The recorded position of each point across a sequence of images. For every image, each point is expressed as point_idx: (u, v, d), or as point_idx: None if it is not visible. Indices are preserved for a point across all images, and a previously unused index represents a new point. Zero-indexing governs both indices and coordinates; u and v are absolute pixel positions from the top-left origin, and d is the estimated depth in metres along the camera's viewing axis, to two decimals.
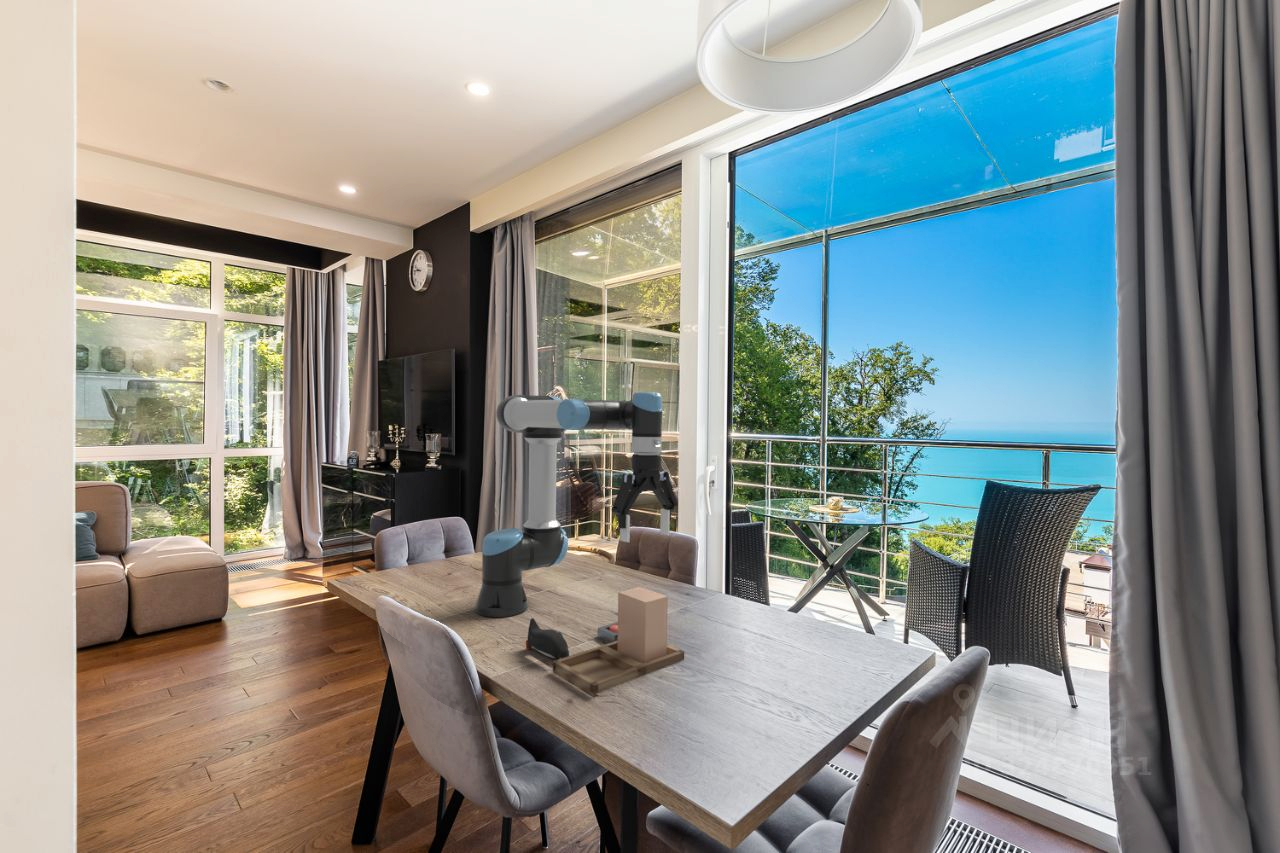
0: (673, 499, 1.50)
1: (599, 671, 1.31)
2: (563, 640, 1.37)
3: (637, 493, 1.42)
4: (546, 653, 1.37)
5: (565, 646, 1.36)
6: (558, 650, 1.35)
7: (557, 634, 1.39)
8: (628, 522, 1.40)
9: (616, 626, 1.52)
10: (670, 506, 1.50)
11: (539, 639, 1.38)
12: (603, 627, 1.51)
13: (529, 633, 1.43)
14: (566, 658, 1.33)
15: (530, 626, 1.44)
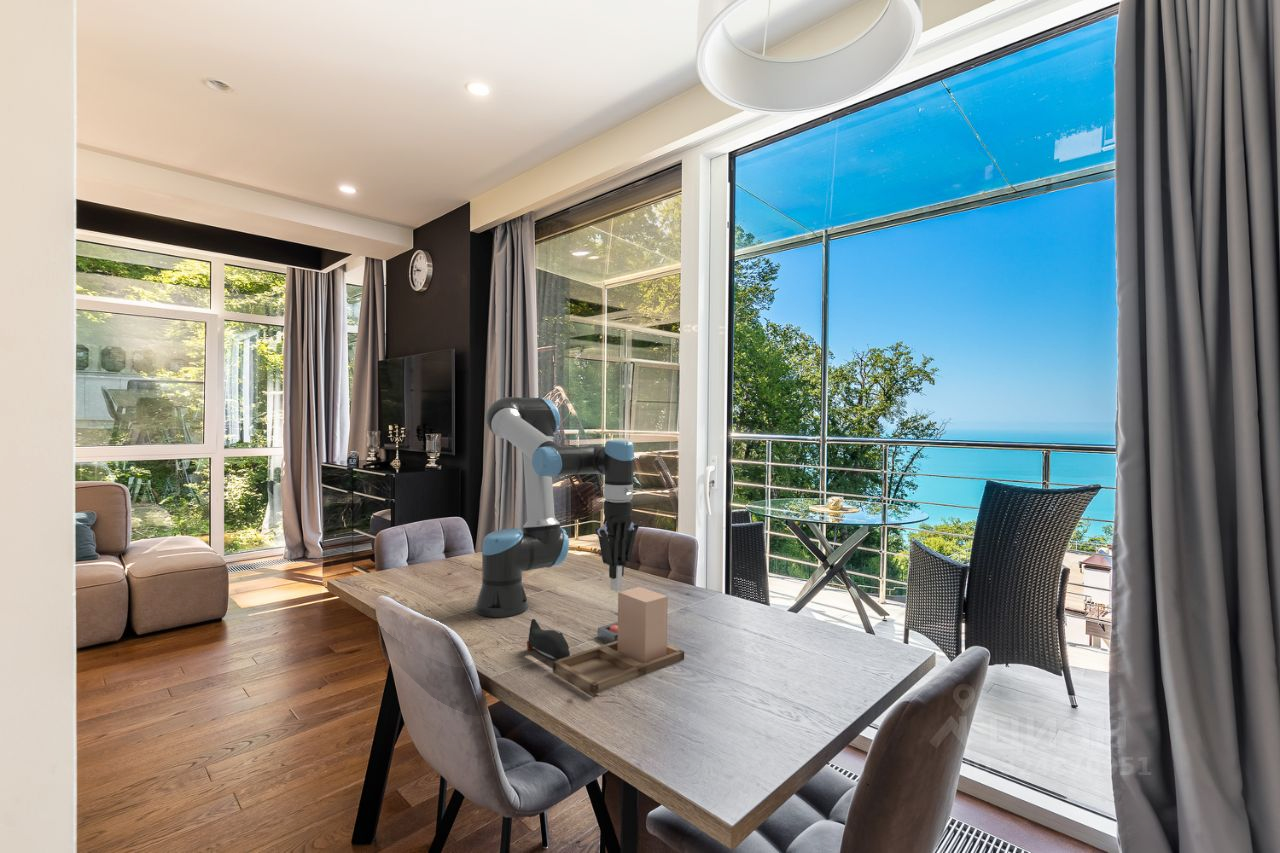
0: (629, 553, 1.52)
1: (599, 671, 1.31)
2: (564, 641, 1.37)
3: (616, 541, 1.49)
4: (547, 654, 1.36)
5: (566, 647, 1.36)
6: (559, 651, 1.34)
7: (558, 635, 1.38)
8: (618, 572, 1.50)
9: (616, 626, 1.52)
10: (623, 561, 1.51)
11: (540, 640, 1.37)
12: (603, 627, 1.51)
13: (530, 634, 1.43)
14: (566, 658, 1.33)
15: (531, 627, 1.44)
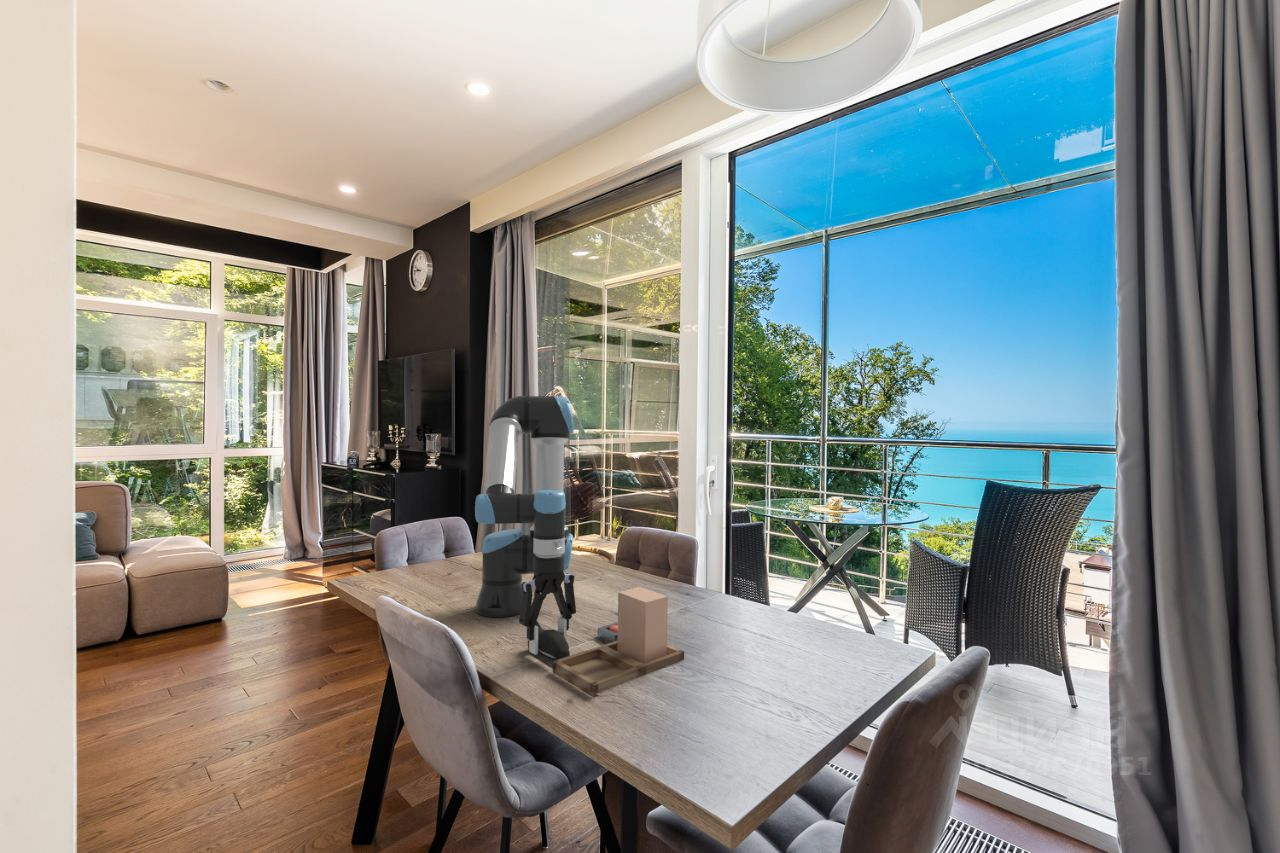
0: (572, 606, 1.43)
1: (599, 671, 1.31)
2: (564, 640, 1.37)
3: (541, 600, 1.37)
4: (547, 653, 1.36)
5: (566, 646, 1.36)
6: (559, 651, 1.34)
7: (558, 634, 1.38)
8: (536, 634, 1.37)
9: (616, 626, 1.52)
10: (567, 615, 1.42)
11: (540, 639, 1.37)
12: (603, 627, 1.51)
13: None
14: (566, 658, 1.33)
15: None
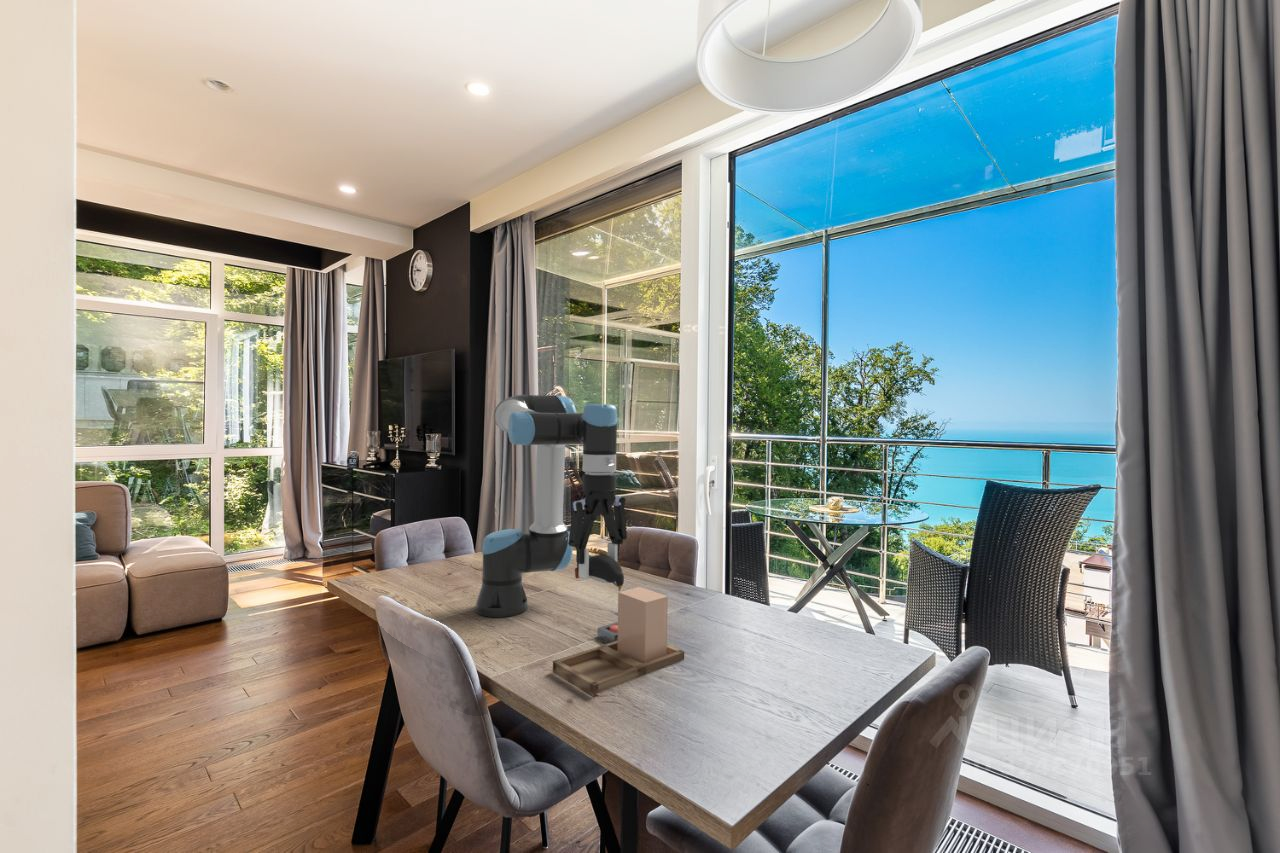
0: (623, 530, 1.33)
1: (599, 671, 1.31)
2: (617, 564, 1.26)
3: (592, 520, 1.27)
4: (599, 578, 1.26)
5: (620, 570, 1.25)
6: (612, 574, 1.24)
7: (610, 558, 1.27)
8: (587, 557, 1.26)
9: (616, 626, 1.52)
10: (618, 539, 1.32)
11: (591, 563, 1.27)
12: (603, 627, 1.51)
13: None
14: (566, 658, 1.33)
15: None
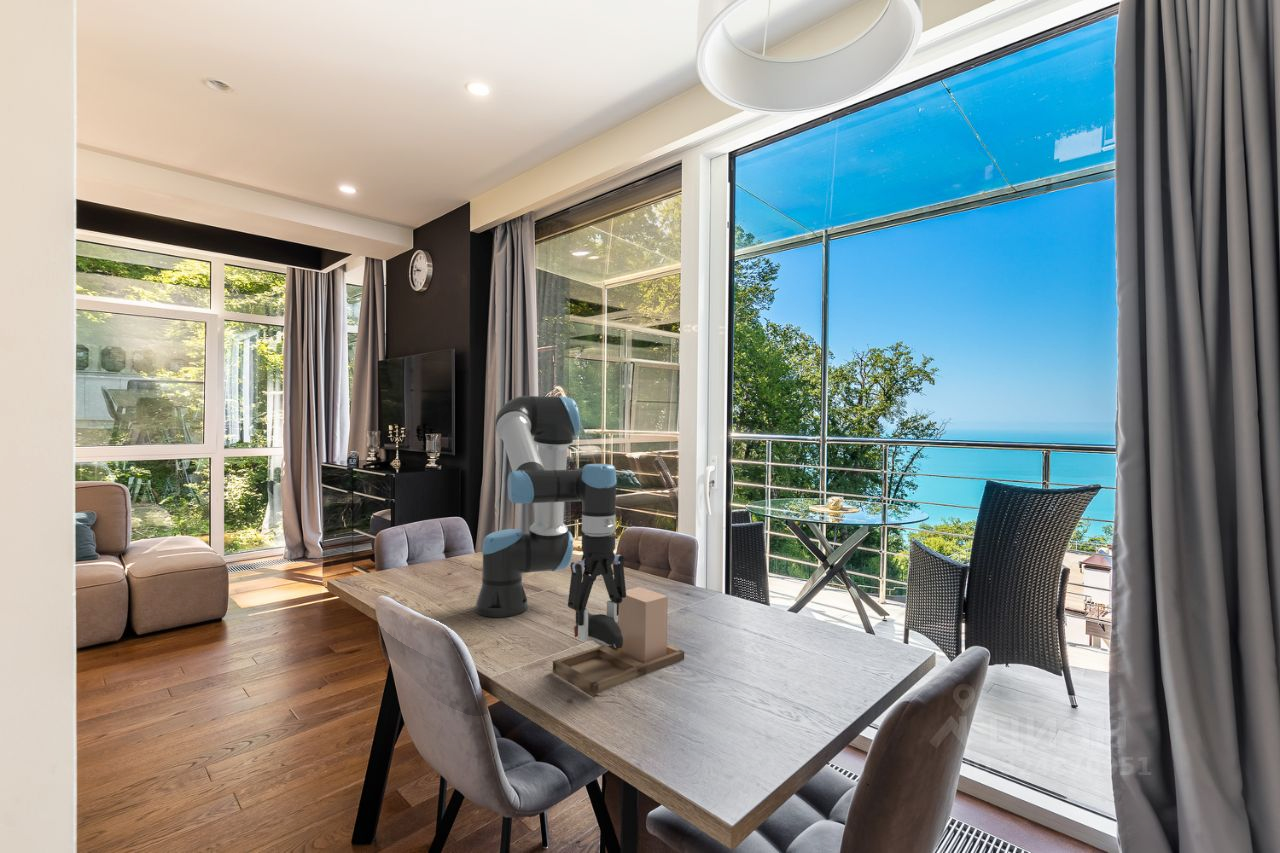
0: (622, 589, 1.33)
1: (599, 671, 1.31)
2: (616, 625, 1.26)
3: (591, 582, 1.27)
4: (598, 639, 1.26)
5: (619, 632, 1.25)
6: (612, 636, 1.24)
7: (609, 619, 1.28)
8: (586, 618, 1.26)
9: None
10: (617, 598, 1.32)
11: (590, 624, 1.27)
12: None
13: None
14: (566, 658, 1.33)
15: None
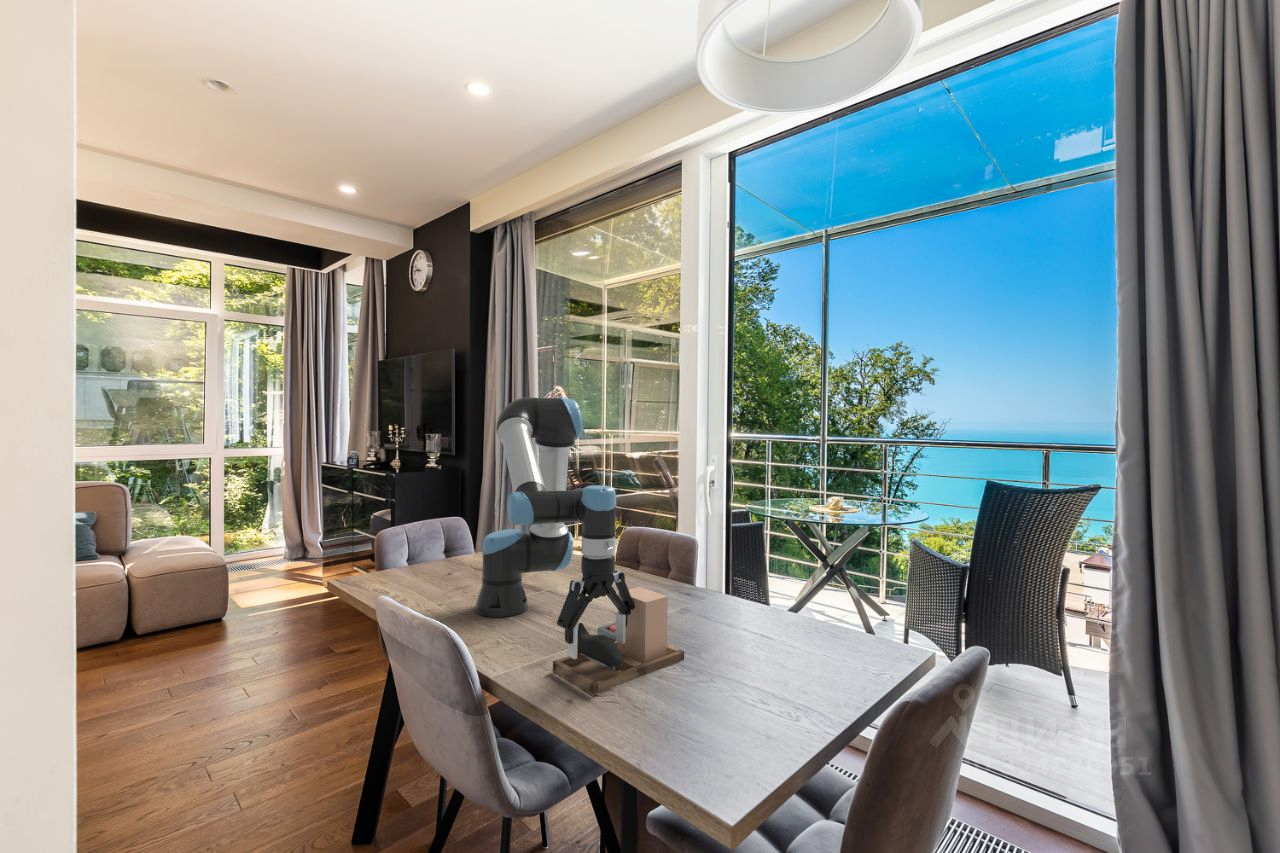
0: (630, 602, 1.35)
1: (599, 671, 1.31)
2: (616, 647, 1.26)
3: (586, 602, 1.26)
4: (598, 661, 1.26)
5: (618, 654, 1.25)
6: (611, 658, 1.24)
7: (609, 640, 1.28)
8: (576, 636, 1.25)
9: None
10: (626, 610, 1.34)
11: (590, 646, 1.27)
12: (603, 627, 1.51)
13: (578, 639, 1.33)
14: (566, 658, 1.33)
15: (578, 631, 1.34)
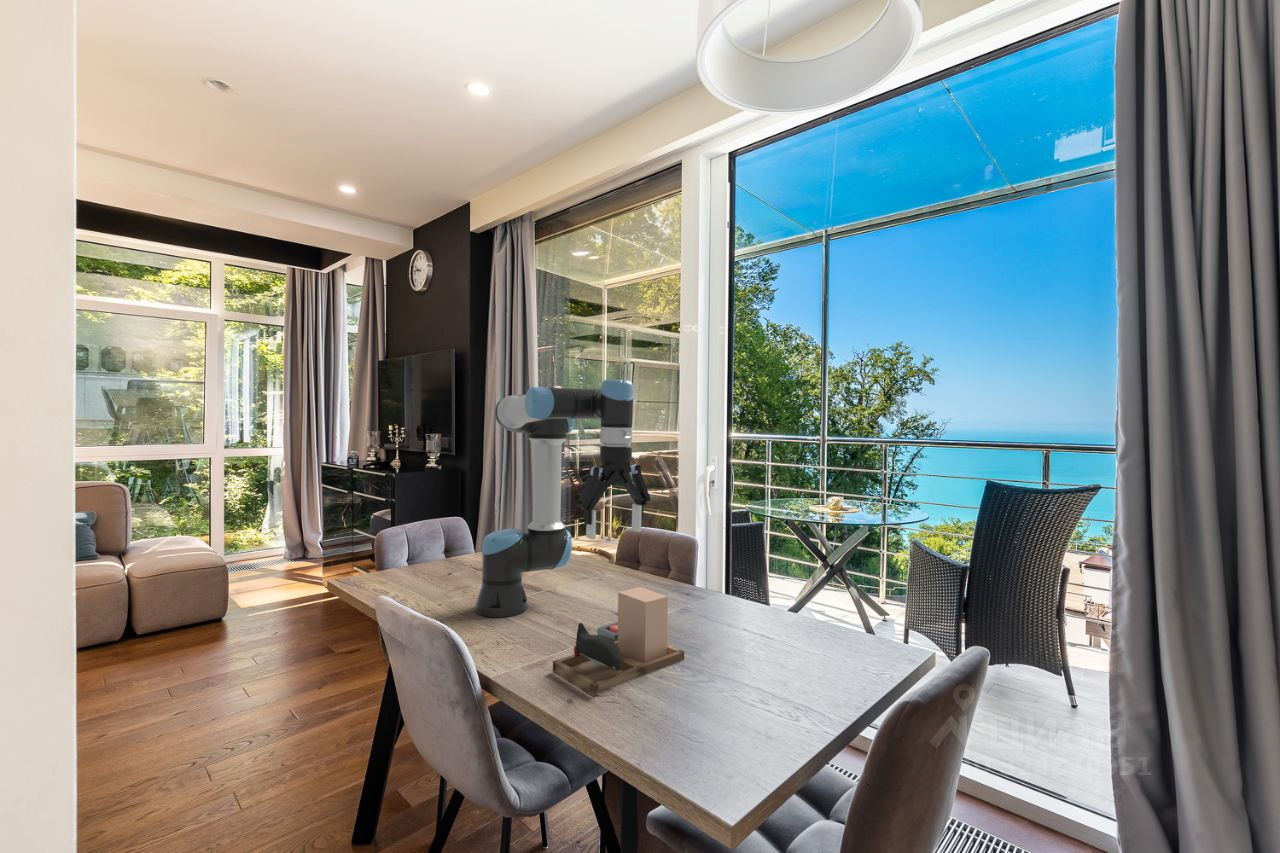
0: (645, 494, 1.42)
1: (599, 671, 1.31)
2: (616, 647, 1.26)
3: (605, 487, 1.33)
4: (598, 661, 1.26)
5: (618, 654, 1.25)
6: (611, 658, 1.24)
7: (609, 640, 1.28)
8: (594, 518, 1.32)
9: (616, 626, 1.52)
10: (642, 501, 1.41)
11: (590, 646, 1.27)
12: (603, 627, 1.51)
13: (578, 639, 1.33)
14: (566, 658, 1.33)
15: (578, 631, 1.34)
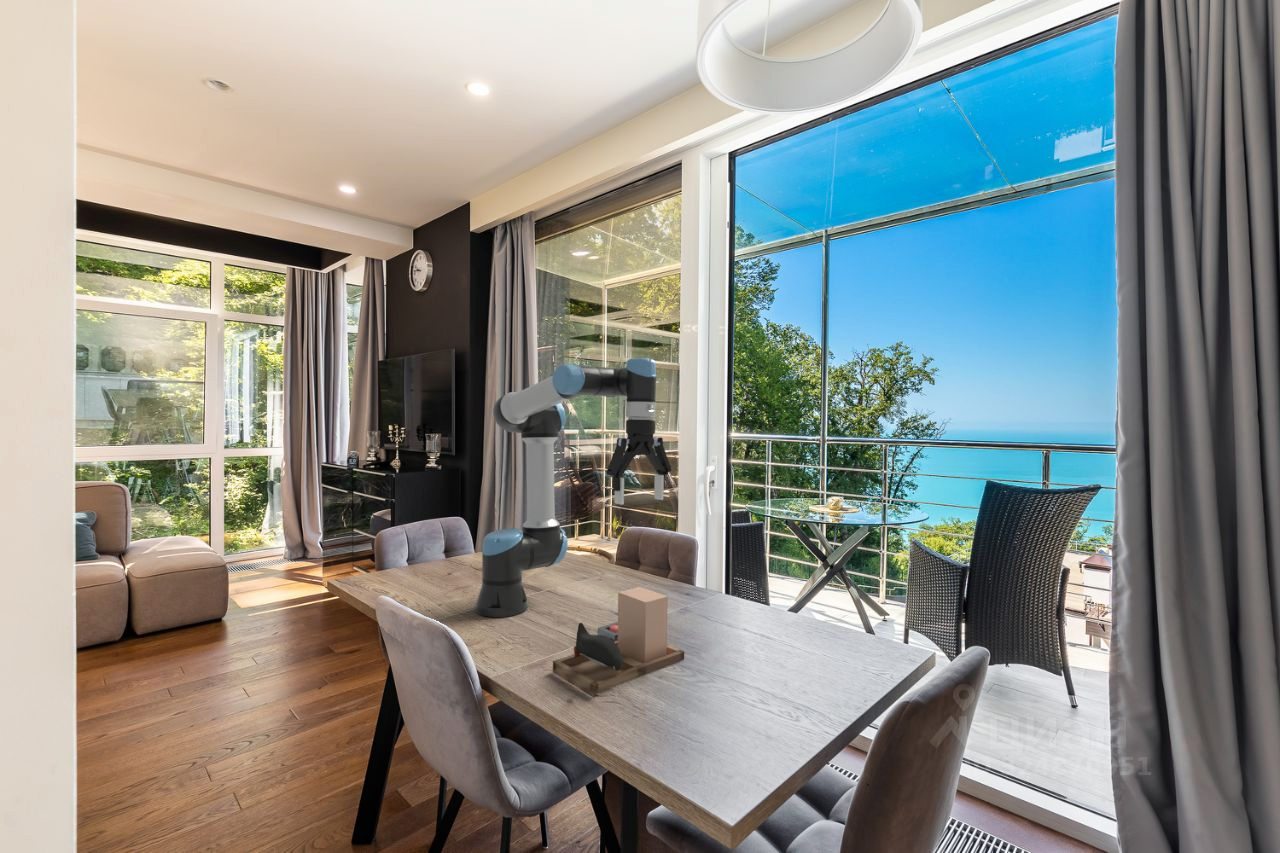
0: (667, 465, 1.53)
1: (599, 671, 1.31)
2: (616, 647, 1.26)
3: (631, 457, 1.45)
4: (598, 661, 1.26)
5: (618, 654, 1.25)
6: (611, 658, 1.24)
7: (609, 640, 1.28)
8: (622, 485, 1.43)
9: (616, 626, 1.52)
10: (664, 471, 1.52)
11: (590, 646, 1.27)
12: (603, 627, 1.51)
13: (578, 639, 1.33)
14: (566, 658, 1.33)
15: (578, 631, 1.34)
